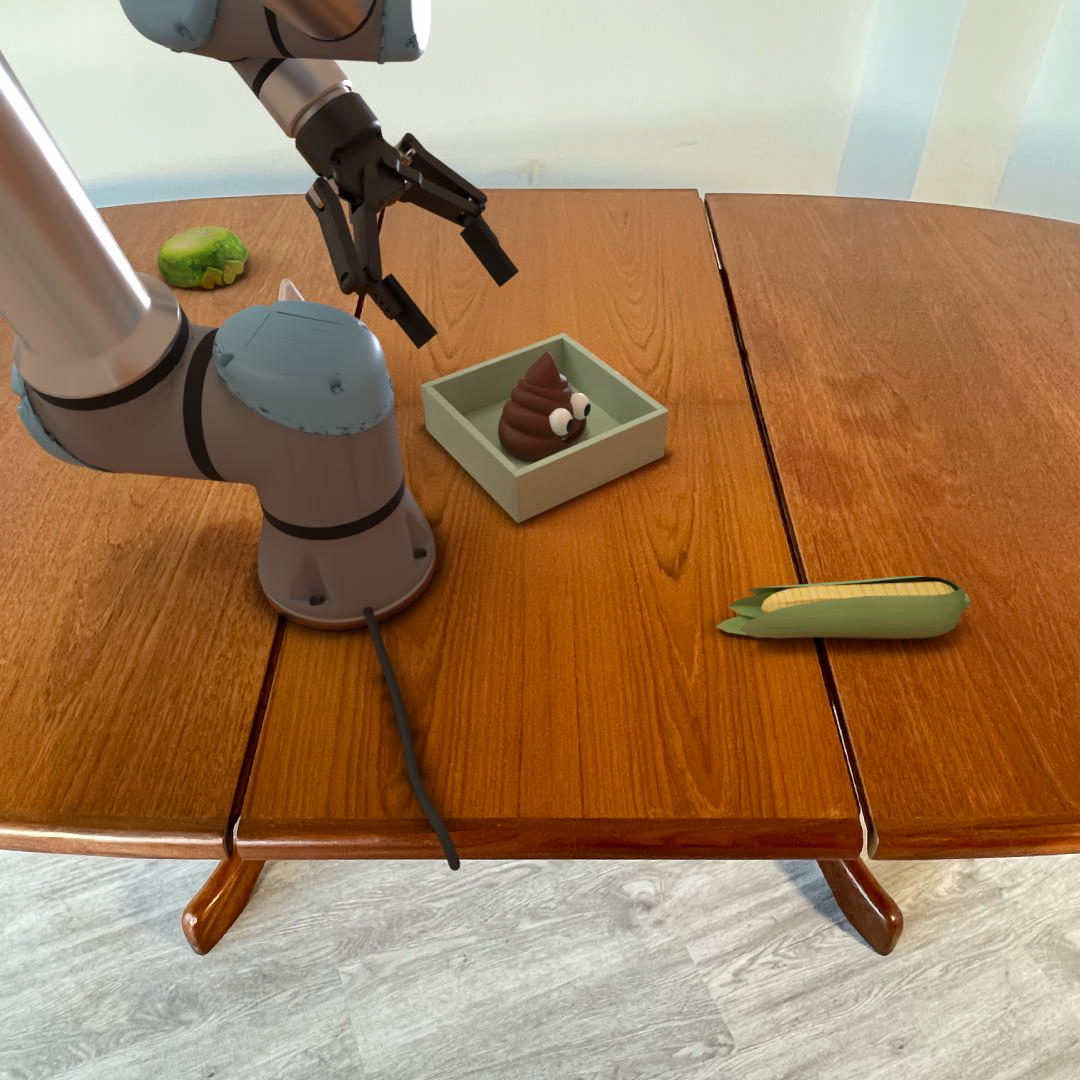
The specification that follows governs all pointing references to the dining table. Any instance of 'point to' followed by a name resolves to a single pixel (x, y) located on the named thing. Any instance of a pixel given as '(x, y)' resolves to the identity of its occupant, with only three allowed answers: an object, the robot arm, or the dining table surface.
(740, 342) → the dining table surface
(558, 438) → the poop emoji
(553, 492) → the tub
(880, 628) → the edible corn
